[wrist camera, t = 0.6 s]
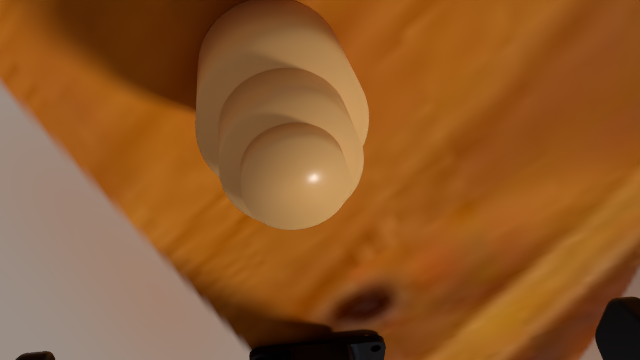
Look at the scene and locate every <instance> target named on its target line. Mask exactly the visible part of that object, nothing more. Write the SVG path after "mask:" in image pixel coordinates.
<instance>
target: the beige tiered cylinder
mask: <svg viewBox="0 0 640 360" xmlns="http://www.w3.org/2000/svg"><path fill="white" fill-rule="evenodd" d="M195 126H196V137H197V143H198V146H199V149H200V152H201V154H202V156H203V158H204V160H205V161H206V163H207V164H208V166H209V167H210V168H211V170H212V171H213V172H214V173H215V174H216V175H217V176H218V177H219V178H220V181H221V184H222V187H223V189H224V191H225V193H226V195H227V197H228V198H229V199H230V201H231V202H232V203H233V204H234V205H235V206H236V207H237V208H238V209H239V210H241V211H242V212H243V213H245V214H246V215H248V216H250V217H252V218H254V219H256V220H259V221H261V222H262V223H264V224H266V225H269V226H271V227H275V228H279V229H286V230H297V229H304V228H308V227H312V226H315V225H317V224H319V223H322V222H323V221H325V220H327V219H328V218H330V217H331V216H333V215H334V214H335V213H336V212H337V211H338V210H339V209H340V208H341V206H342V205H343V203H344V202H345V201H346V200H347V199H348V198H349V197H350V195H351V194H352V193H353V191H354V190H355V188H356V187H357V185H358V182H359V180H360V178H361V175H362V171H363V165H364V155H363V148H362V147H363V145H364V143H365V139H366V136H367V132H368V126H369V111H368V104H367V101H366V97H365V94H364V92H363V90H362V88H361V85H360V83H359V81H358V79H357V77H356V75H355V73H354V71H353V69H352V67H351V65H350V63H349V61H348V59H347V57H346V55H345V53H344V51H343V49H342V47H341V45H340V43H339V41H338V39H337V37H336V35H335V33H334V32H333V30H332V28H331V27H330V25H329V24H328V23H327V22H326V21H325V19H324V18H323V17H322V16H320V15H319V14H318V13H317V12H316V11H314V10H313V9H311V8H310V7H308V6H306V5H304V4H302V3H300V2H297V1H294V0H249V1H246V2H243V3H240V4H238V5H236V6H234V7H233V8H231V9H229V10H228V11H227V12H225V13H224V14H223V15H221V16H220V17H219V18H218V19H217V20H216V21H215V22H214V24H213V25H212V26H211V27H210V29H209V30H208V32H207V34H206V35H205V37H204V40H203V42H202V44H201V48H200V52H199V57H198V71H197V96H196V120H195Z"/></svg>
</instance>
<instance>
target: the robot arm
mask: <svg viewBox="0 0 640 360" xmlns="http://www.w3.org/2000/svg"><path fill="white" fill-rule="evenodd" d="M595 338H596V343H597V346H598V349H599V351H600V353H601V356H602V358H603V360H640V299H639V298H637V297H621V298H614V299H612V300H610V301H609V302H608V304H607V306H606V308H605V311H604V313H603V315H602V317H601V320H600V322H599V324H598V326H597V329H596V333H595ZM385 349H386V346H385V342H384V339H383V338H382V336H379V335H370V336H361V337H351V338H342V339H332V340H323V341H313V342H304V343H294V344H285V345H275V346H266V347H258V348H255V349H253V350H252V351H251V352H250V355H249V357H250V360H384V355H385ZM16 360H55V357H54V356H53V354H52V353H51V352H47V351H43V352H34V353H25V354H22V355H20V356H19V357H18V358H17V359H16Z"/></svg>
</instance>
